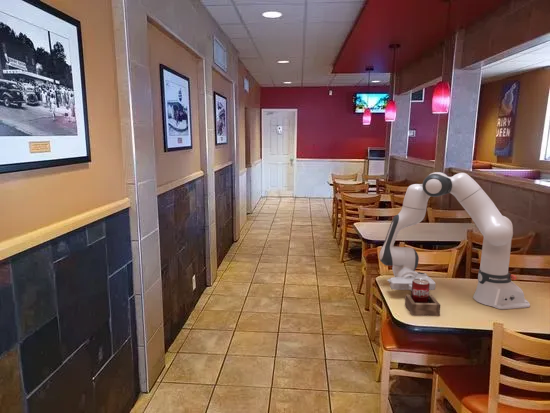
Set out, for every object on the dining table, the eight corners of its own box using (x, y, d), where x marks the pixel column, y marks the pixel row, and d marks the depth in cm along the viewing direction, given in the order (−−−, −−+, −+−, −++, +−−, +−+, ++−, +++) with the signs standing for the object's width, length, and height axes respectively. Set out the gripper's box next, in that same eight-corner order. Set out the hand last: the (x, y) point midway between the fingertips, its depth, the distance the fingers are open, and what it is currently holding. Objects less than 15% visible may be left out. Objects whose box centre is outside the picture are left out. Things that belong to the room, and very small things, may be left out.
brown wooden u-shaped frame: (430, 305, 171) (431, 294, 170) (439, 315, 161) (440, 304, 160) (404, 304, 171) (405, 294, 170) (411, 315, 161) (412, 304, 161)
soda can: (429, 311, 165) (431, 285, 163) (412, 310, 166) (414, 284, 164) (425, 303, 172) (427, 278, 170) (409, 302, 173) (410, 277, 171)
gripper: (386, 272, 185) (394, 283, 172) (429, 273, 184) (440, 284, 171) (386, 285, 186) (393, 297, 173) (428, 285, 186) (439, 297, 172)
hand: (417, 290), depth 172 cm, fingers closed, pressing on soda can
